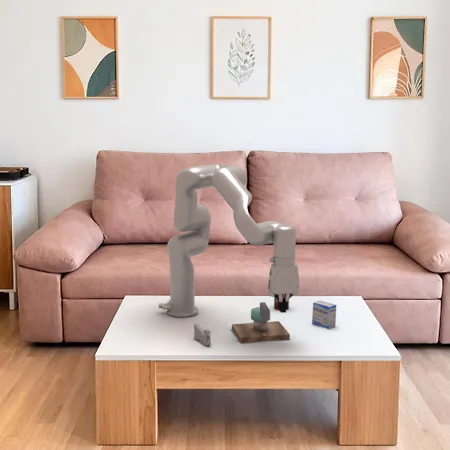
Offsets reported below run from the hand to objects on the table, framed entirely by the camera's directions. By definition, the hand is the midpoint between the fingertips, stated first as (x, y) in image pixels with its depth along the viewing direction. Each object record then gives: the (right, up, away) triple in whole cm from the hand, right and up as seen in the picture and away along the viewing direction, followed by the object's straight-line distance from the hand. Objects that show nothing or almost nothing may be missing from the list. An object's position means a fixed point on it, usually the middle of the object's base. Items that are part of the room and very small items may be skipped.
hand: (282, 311), depth 241 cm
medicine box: (+17, -8, +19) cm, 26 cm away
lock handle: (-7, -4, +4) cm, 9 cm away
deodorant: (+3, -4, +38) cm, 38 cm away
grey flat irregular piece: (-28, -11, 0) cm, 30 cm away
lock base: (-7, -9, +8) cm, 15 cm away
